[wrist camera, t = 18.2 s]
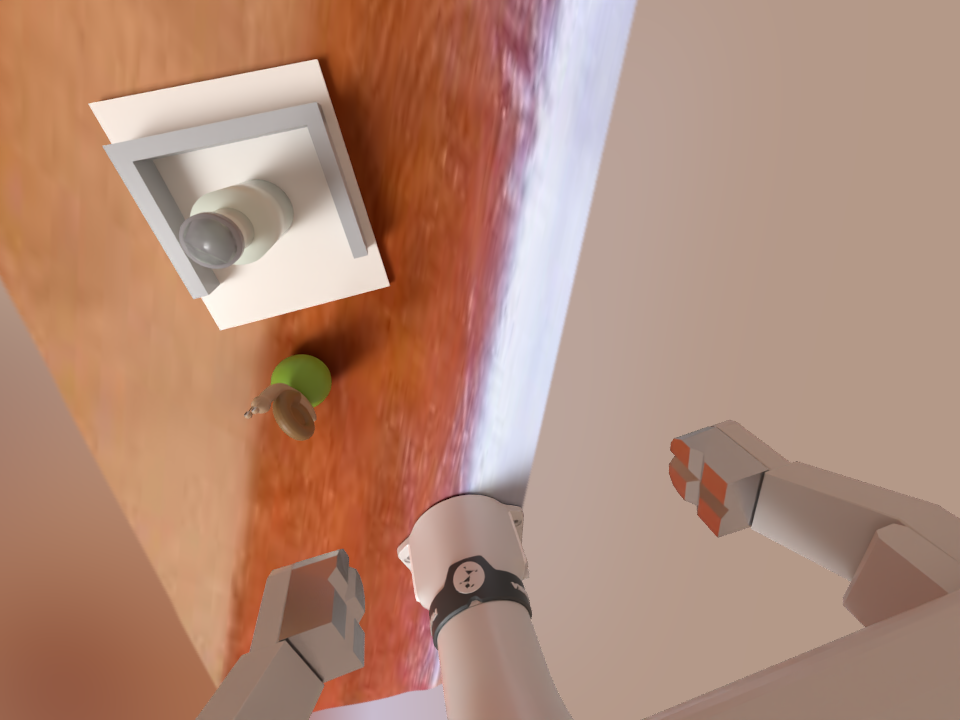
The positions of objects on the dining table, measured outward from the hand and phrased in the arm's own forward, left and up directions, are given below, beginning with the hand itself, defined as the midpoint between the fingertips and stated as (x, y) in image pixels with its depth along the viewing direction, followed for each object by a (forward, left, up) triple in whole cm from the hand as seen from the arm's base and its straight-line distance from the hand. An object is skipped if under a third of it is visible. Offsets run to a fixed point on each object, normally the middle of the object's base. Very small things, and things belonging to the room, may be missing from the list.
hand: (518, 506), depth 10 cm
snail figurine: (-10, +14, -33) cm, 38 cm away
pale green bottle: (+5, +11, -32) cm, 34 cm away
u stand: (+5, +11, -33) cm, 35 cm away
